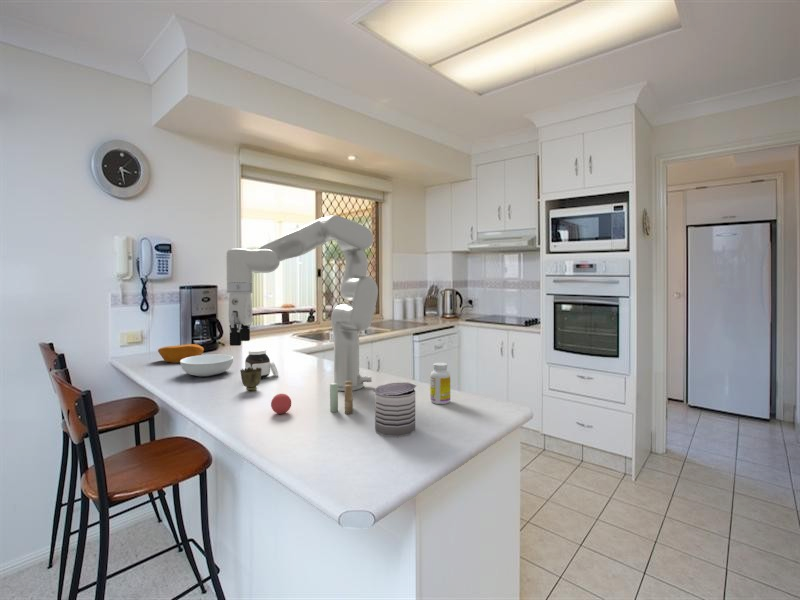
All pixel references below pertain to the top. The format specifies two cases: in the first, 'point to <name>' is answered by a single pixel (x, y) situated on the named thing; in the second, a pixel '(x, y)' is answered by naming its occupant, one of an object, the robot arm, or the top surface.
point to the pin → (348, 399)
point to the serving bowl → (206, 364)
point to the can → (395, 409)
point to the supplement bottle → (440, 384)
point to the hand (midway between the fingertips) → (240, 343)
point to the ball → (281, 403)
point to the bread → (180, 352)
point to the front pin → (333, 397)
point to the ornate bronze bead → (251, 378)
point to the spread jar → (260, 362)
